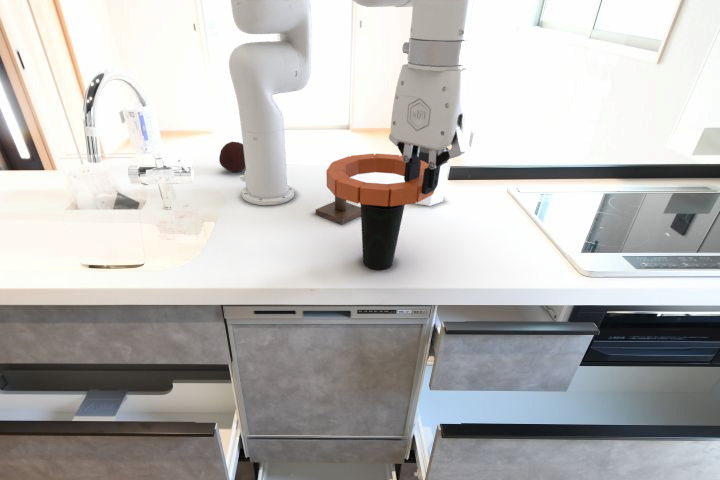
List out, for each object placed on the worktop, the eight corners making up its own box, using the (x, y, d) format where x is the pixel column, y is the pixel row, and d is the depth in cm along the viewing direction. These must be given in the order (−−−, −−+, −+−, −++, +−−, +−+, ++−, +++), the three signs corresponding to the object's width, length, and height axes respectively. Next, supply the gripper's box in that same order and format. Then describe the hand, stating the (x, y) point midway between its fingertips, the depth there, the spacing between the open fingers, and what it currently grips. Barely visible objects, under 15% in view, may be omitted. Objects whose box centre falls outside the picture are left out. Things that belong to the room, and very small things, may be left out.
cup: (395, 275, 80) (402, 211, 73) (354, 270, 81) (357, 207, 74) (399, 255, 86) (406, 194, 79) (361, 251, 87) (364, 191, 80)
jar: (402, 202, 107) (407, 150, 100) (410, 191, 113) (416, 141, 106) (439, 208, 105) (447, 155, 97) (445, 196, 111) (454, 146, 103)
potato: (259, 171, 123) (256, 142, 119) (230, 179, 118) (226, 148, 113) (242, 164, 128) (239, 135, 123) (214, 171, 123) (209, 141, 118)
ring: (306, 186, 75) (305, 171, 74) (371, 161, 86) (372, 147, 84) (392, 215, 66) (394, 198, 65) (453, 184, 77) (456, 168, 75)
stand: (315, 214, 101) (314, 180, 96) (338, 204, 106) (339, 171, 101) (342, 224, 97) (342, 189, 92) (365, 213, 102) (366, 180, 97)
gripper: (372, 52, 62) (365, 183, 73) (477, 63, 54) (452, 209, 65) (402, 48, 67) (392, 172, 78) (504, 58, 58) (476, 195, 70)
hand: (419, 188), depth 71 cm, fingers closed on ring, 2 cm apart
